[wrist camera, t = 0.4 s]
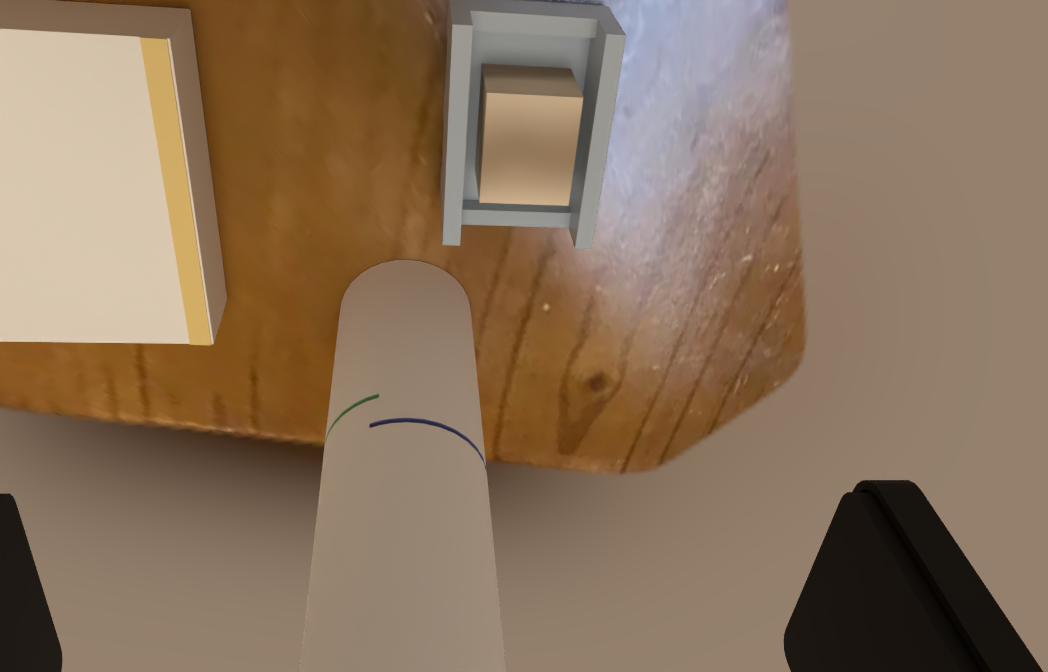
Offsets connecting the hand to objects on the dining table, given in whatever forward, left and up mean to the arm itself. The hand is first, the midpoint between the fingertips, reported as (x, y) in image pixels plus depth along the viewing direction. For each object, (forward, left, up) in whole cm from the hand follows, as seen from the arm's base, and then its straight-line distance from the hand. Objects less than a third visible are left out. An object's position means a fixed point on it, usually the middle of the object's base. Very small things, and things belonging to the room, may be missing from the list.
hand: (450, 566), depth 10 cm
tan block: (+7, +5, -31) cm, 32 cm away
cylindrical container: (+20, 0, -33) cm, 39 cm away
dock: (+11, -15, -33) cm, 38 cm away
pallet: (+7, +5, -33) cm, 34 cm away
